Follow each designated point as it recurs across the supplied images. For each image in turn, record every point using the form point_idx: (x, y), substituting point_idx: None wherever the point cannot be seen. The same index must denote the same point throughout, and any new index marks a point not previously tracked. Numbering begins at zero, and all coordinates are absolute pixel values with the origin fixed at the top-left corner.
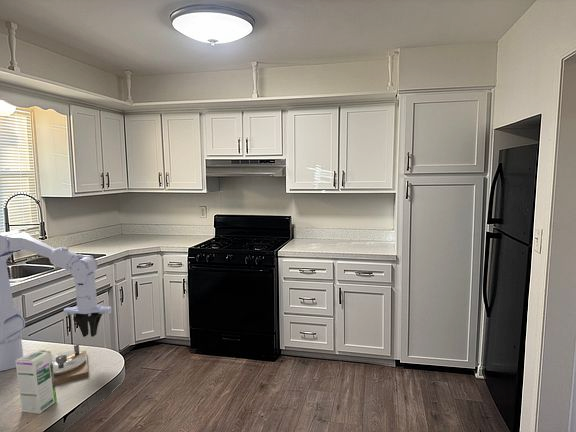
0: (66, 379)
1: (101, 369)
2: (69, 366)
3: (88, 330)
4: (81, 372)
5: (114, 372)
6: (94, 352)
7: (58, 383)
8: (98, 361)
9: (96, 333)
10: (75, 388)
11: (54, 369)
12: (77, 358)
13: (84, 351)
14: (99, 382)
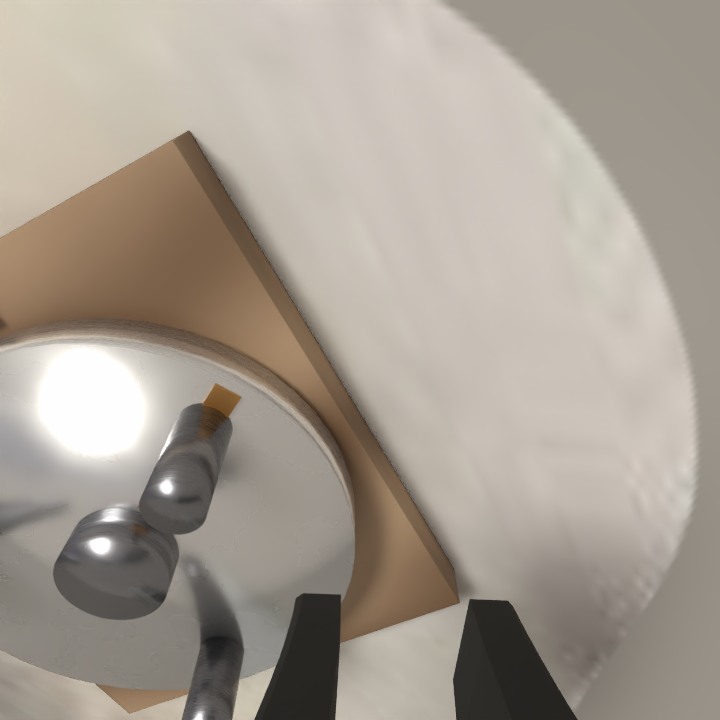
0: None
1: (525, 479)
2: None
3: (338, 650)
4: (404, 605)
5: (657, 530)
6: (269, 70)
7: None
8: (435, 330)
9: (518, 618)
10: (425, 677)
11: (182, 670)
12: (277, 518)
13: (172, 180)
14: (570, 634)
